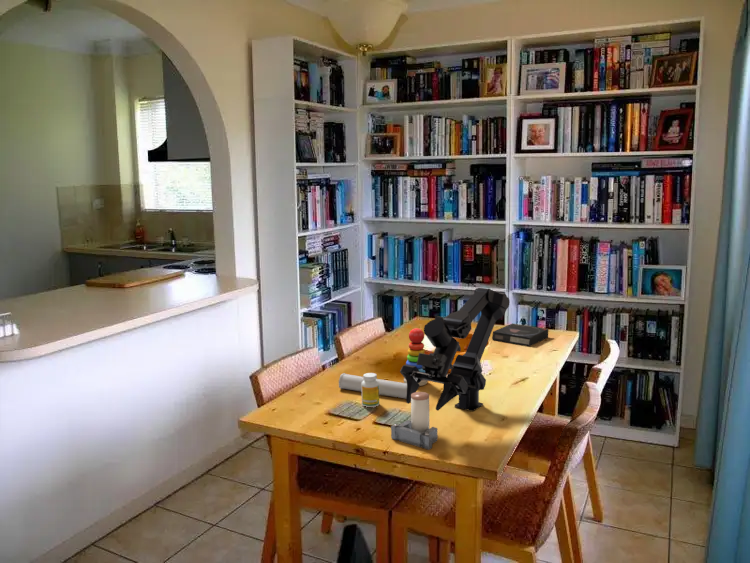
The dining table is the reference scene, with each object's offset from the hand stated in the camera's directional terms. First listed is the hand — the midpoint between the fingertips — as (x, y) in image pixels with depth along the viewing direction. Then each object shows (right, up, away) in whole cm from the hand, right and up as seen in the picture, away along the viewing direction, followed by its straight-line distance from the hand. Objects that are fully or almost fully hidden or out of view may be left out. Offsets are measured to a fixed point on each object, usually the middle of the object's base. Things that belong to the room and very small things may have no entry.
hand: (421, 406), depth 174 cm
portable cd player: (+47, +9, +94) cm, 106 cm away
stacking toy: (+1, -1, +44) cm, 44 cm away
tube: (-12, -3, +36) cm, 38 cm away
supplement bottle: (-14, -5, +25) cm, 29 cm away
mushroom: (0, -9, +1) cm, 9 cm away
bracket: (-2, -9, -1) cm, 9 cm away
